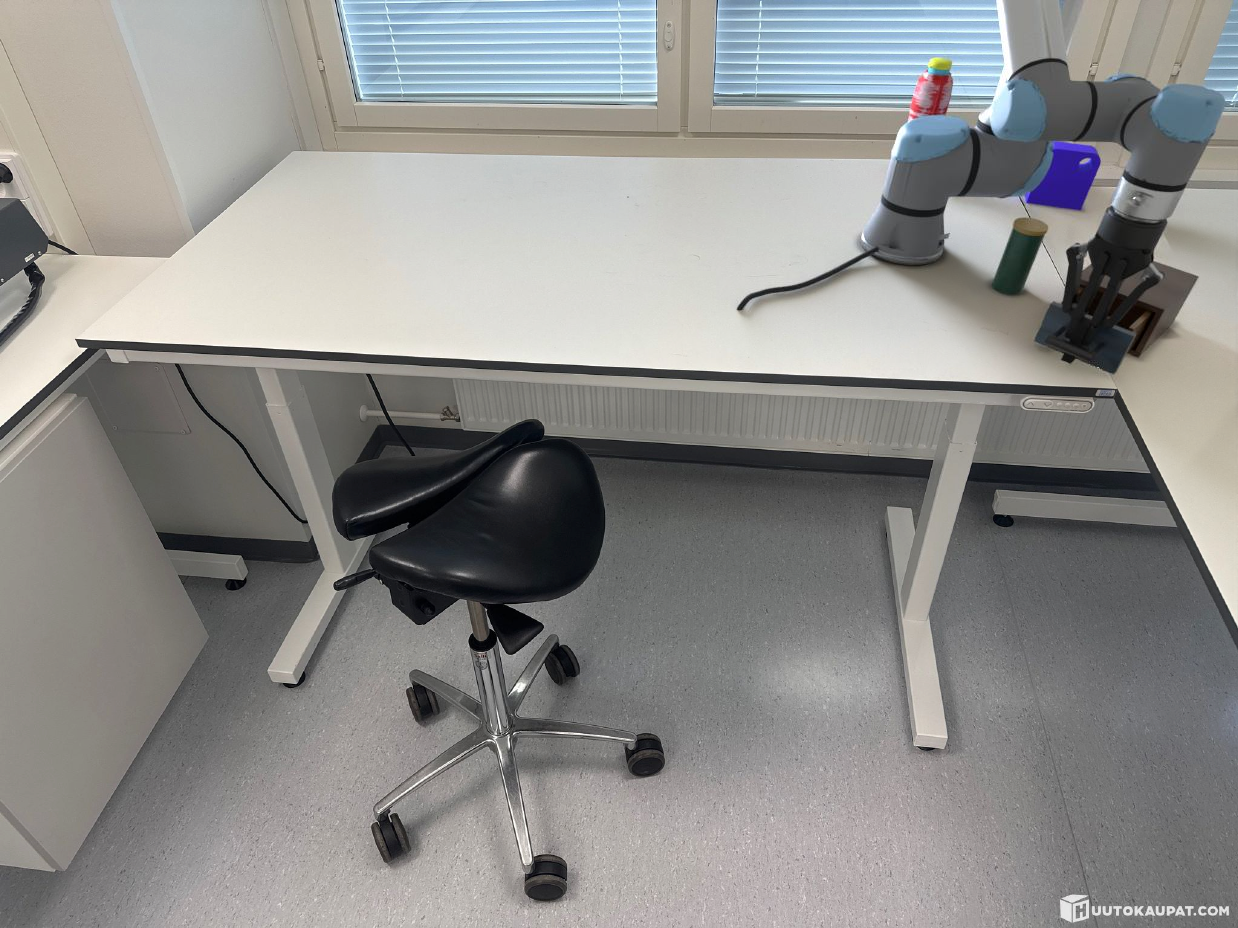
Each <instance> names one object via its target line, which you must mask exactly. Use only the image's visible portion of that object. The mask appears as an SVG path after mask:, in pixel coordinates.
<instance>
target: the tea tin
mask: <svg viewBox="0 0 1238 928" xmlns="http://www.w3.org/2000/svg"><path fill="white" fill-rule="evenodd" d="M1048 231H1049V225H1048V224H1047V223H1046V222H1045V221H1042V220H1040V219H1037V218H1032V217H1017V218H1015V219H1014V221H1013V223H1012V229H1011V231H1010V234H1009V237H1008V239H1007V242H1006V244H1005V247H1004V250H1003V253H1002V256H1001V258H1000V261H999V262H998V266H997V269H996V272H995V273H994V277H993V279H992V283H991V287H992V289H994V290H995V291H996V292H998V293H1000V294H1003V295H1009V296H1015V295H1020V294H1021V293H1022V292H1023V290H1024V287H1025V285H1026V282H1027V280H1028V278H1029V275H1030V273H1031V271H1032V268H1033V265H1034V263H1035V260H1036V257H1037V255H1038V253H1039V250H1040V248H1041V245H1042V243H1043V241H1044V238H1045V235H1046V234H1047V233H1048Z"/></svg>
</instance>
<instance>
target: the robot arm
mask: <svg viewBox="0 0 1238 928" xmlns="http://www.w3.org/2000/svg"><path fill="white" fill-rule="evenodd" d="M995 1H996V8H997V9H996V10H997V17H998V26H999V32H1000V39H1001V41H1000V42H1001V48H1002V57H1003V64H1004V65H1003V68H1002V71H1001V74H1000V77H999V80H998V84H997V87H996V89H995V93H994V96H993V100H992V103H991V104H990V105H989V106H988V107H987V108H985V109H984V110H982V111H981V112H979V114H978V117H977V121H976V124H975V126H974V127H970V124H969V123H968V121H966V120H965V119H963V118H961V117H957V116H952V115H950V116H947V115H932V116H924V117H919V118H916V119H913V120H911V121H909V122H908V121H907V122H906V123H905V124H903V125H902V126H901V127H900V128H899V130H898V133H897V135H896V138H895V142H894V145H893V146H892V149H891V155H890V160H889V164H888V167H887V173H886V176H885V181H884V185H883V189H882V193H881V197H880V200H879V204H878V205H877V207H876V209H875V210H874V212H873V213H872V215H871V217H870V219H869V220H868V222H867V224H866V225H865V226H864V228H863V230H862V234H861V238H860V245H861V247H862V248H863V249H864V250H865V252H862V253H861V254H859V255H857V256H855V257H853V258H851V259H849V260H848V261H845V262H844V263H842V264H839V265H838V266H836V267H834V268H832V269H830V270H828V271H826V272H824V273H822V274H820V275H817V276H815V277H813V278H810V279H808V280H805V281H802V282H799V283H796V284H792V285H784V286H776V287H770V288H769V287H768V288H763V289H761V290H757V291H754V292H750V293H749V294H747V295H746V296H745V297H744V298H743V299H742V300H741V302H740V303H739V304H738V305H737V308H736V311H740V312H741V311H743V310H744V308H745V307H746V306H747V304H748V303H750V301H751V300H753V299H756V298H759V297H763V296H767V295H771V294H776V293H786V292H792V291H797V290H801V289H804V288H807V287H810V286H813V285H815V284H817V283H820V282H821V281H823V280H827V279H828V278H830V277H832V276H834V275H836V274H839V273H840V272H842V271H843V270H846V269H847V268H849V267H851V266H853V265H854V264H856V263H858V262H860V261H862V260H864V259H865V258H868V257H870V256H873V257H875V258H877V259H879V260H883V261H885V262H889V263H893V264H897V265H898V264H899V265H905V266H922V265H927V264H931V263H935V262H936V261H938V260H939V259H940V258H941V257H942V254H943V251H944V248H945V240H947V239H949V237H950V234H951V233H950V232H948V233H947V232H946V233H945V217H944V216H945V210H946V207H947V204H948V201H949V199H950V198H995V199H1007V198H1016V197H1017V198H1018V197H1023V196H1025V195H1026V194H1027V193H1029V192H1031V191H1033V190H1034V189H1035V188H1036V187H1037V186H1038V185H1039V184H1040V183H1041V181H1042V180H1043V179H1044V177H1045V175H1046V173H1047V172H1048V169H1049V167H1050V164H1051V161H1052V158H1053V152H1051V151H1052V149H1053V148H1054V141H1057V142H1071V143H1074V142H1075V143H1114V144H1118V146H1120V147H1122V148H1123V149H1124V150H1126V151H1128V152H1129V153H1131V154H1130V155H1129V158H1128V160H1127V163H1126V165H1125V168H1124V170H1123V172H1122V174H1121V176H1120V179H1119V181H1118V184H1117V186H1116V188H1115V190H1114V192H1113V194H1112V196H1111V198H1110V202H1109V203H1110V206H1109V207H1107V208H1106V210H1105V212H1104V215H1103V216H1102V218H1101V221H1100V224H1099V226H1098V228H1097V230H1096V232H1095V234H1094V236H1092V237H1091V238H1090V239H1089V240H1088V241H1087V242H1084V243H1080V242H1075V243H1074V244H1072V245H1071V246H1069V247H1068V248H1067V249H1066V251H1065V255H1066V259H1067V263H1068V266H1067V271H1066V277H1065V278H1066V279H1065V283H1064V285H1065V286H1064V290H1063V291H1064V292H1063V297H1062V301H1063V303H1062V311H1063V312H1064V313H1068V314H1069V315H1070V316H1071V322H1070V324H1069V326H1068V328H1067V330H1066V332H1065V338H1068V339H1070V341H1069V342H1071V343H1073V344H1076V345H1078V346H1080V347H1083V345H1085V346H1088V345H1090V344H1091V343H1092V342H1093V341H1094V339H1095V337H1096V335H1097V333H1098V331H1099V329H1100V328H1106V329H1111V328H1113V327H1114V326H1115V325H1116V324H1117V323H1118V322H1119V321H1120V320H1121V319H1122V317H1123V316H1124V315H1125V314H1126V313H1127V312H1128V311H1129V310H1130V308H1131V307H1132V306H1133V305H1134V304H1135V303H1136V302H1137V301H1138V299H1139V298H1140V297H1141V296H1142V295H1143V294H1144V293H1145V292H1146V290H1148V289H1149V288H1151V287H1153V286H1155V285H1157V284H1158V283H1159V282H1160V281H1161V280H1162V279H1163V278H1164V277H1165V273H1164V272H1163V271H1158V270H1157V269H1156V267H1155V266H1154V265H1153V264H1152V262H1153V261H1155V255H1154V254H1155V249H1156V247H1157V245H1158V243H1159V241H1160V239H1161V237H1162V236H1163V233H1164V231H1165V229H1166V227H1167V225H1168V223H1169V222H1168V219H1169V218H1171V217H1172V216H1173V214H1174V212H1175V210H1176V208H1177V205H1178V204H1179V202H1180V200H1181V198H1182V196H1183V194H1184V192H1185V190H1186V187H1187V186H1188V183H1189V182H1190V180H1191V178H1192V176H1193V174H1194V172H1195V170H1196V168H1197V166H1198V164H1199V162H1200V160H1201V158H1202V156H1203V155H1204V153H1205V150H1206V148H1207V146H1208V145H1209V143H1210V141H1211V139H1212V138H1213V137H1214V135H1215V133H1216V130H1217V126H1218V124H1219V121H1220V119H1221V116H1222V115H1223V112H1224V110H1225V108H1226V99H1225V97H1224V95H1223V94H1222V93H1220V92H1219V91H1217V90H1215V89H1212V88H1206V87H1205V86H1202V85H1198V84H1191V83H1190V84H1189V83H1173V84H1168V85H1166V86H1164V87H1163V88H1159V87H1158V86H1156V85H1155V84H1154V83H1152V82H1151V81H1150V80H1147V79H1146V77H1143V76H1137V75H1134V74H1132V73H1127V72H1126V73H1125V72H1124V73H1117V74H1115V75H1113V76H1110V77H1108V78H1106V79H1104V80H1102V81H1101V80H1100V81H1099V80H1098V81H1097V80H1095V81H1094V80H1091V81H1090V80H1072V79H1071V75H1070V71H1069V64H1068V63H1069V62H1068V55H1067V51H1068V48H1069V45H1070V42H1071V39H1072V36H1073V34H1074V31H1075V28H1076V26H1077V23H1078V19H1079V17H1080V14H1081V11H1082V9H1083V6H1084V3H1085V0H995ZM1087 256H1088V257H1089V261H1090V264H1091V265H1092V268H1093V270H1092V272H1091V275H1090V277H1089V281H1088V283H1087V285H1086V287H1085V290H1084V292H1083V294H1082V296H1081V298H1080V300H1079V302H1078V305H1077V300H1078V294H1079V288H1080V282H1081V276H1082V270H1084V263H1085V258H1086V257H1087ZM1142 270H1144V273H1143V275H1142V276H1141V277H1140V280H1141V281H1142V282H1141V283H1140V284H1139V285H1138V286H1137V287H1136V288H1135V289H1134V290H1133V291H1132V292H1131V294H1130V295H1129V296H1128V297H1127V298H1126V299H1125V300H1124V302H1123V303H1122V304H1121V305H1120V306H1119V307H1118V308H1117V310H1116V311H1115V312H1114V313H1113V314H1112V315H1111V316H1110V317H1106V316H1107V314H1108V312H1109V310H1110V308H1111V306H1112V304H1113V302H1114V300H1115V298H1116V296H1117V294H1118V292H1119V290H1120V288H1121V285H1122V283H1123V282H1124V280H1125V279H1127V278H1128V277H1130V276H1132V275H1134V274H1136V273H1138V272H1140V271H1142ZM1105 275H1106V276H1108V277H1110V280H1109V282H1108V284H1107V285H1108V286H1107V288H1106V290H1105V292H1104V294H1103V296H1102V298H1101V300H1100V303H1099V305H1098V307H1097V309H1096V311H1095V313H1094V315H1093V317H1092V319H1089V318H1086V317H1085V315H1086V314H1087V313H1088V310H1089V308H1090V306H1091V304H1092V302H1093V299H1094V297H1095V295H1096V293H1097V291H1098V289H1099V287H1100V285H1101V283H1102V281H1103V278H1104V276H1105ZM1084 317H1085V318H1084ZM1076 358H1077V357H1075V356H1073V355H1070V354H1068V353H1065V352H1064V354H1063V353H1062V355H1061V358H1060V361H1062V362H1064V363H1066V364H1069V365H1071V364H1072V363H1073V362H1074V361H1075V360H1077V359H1076Z"/></svg>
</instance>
